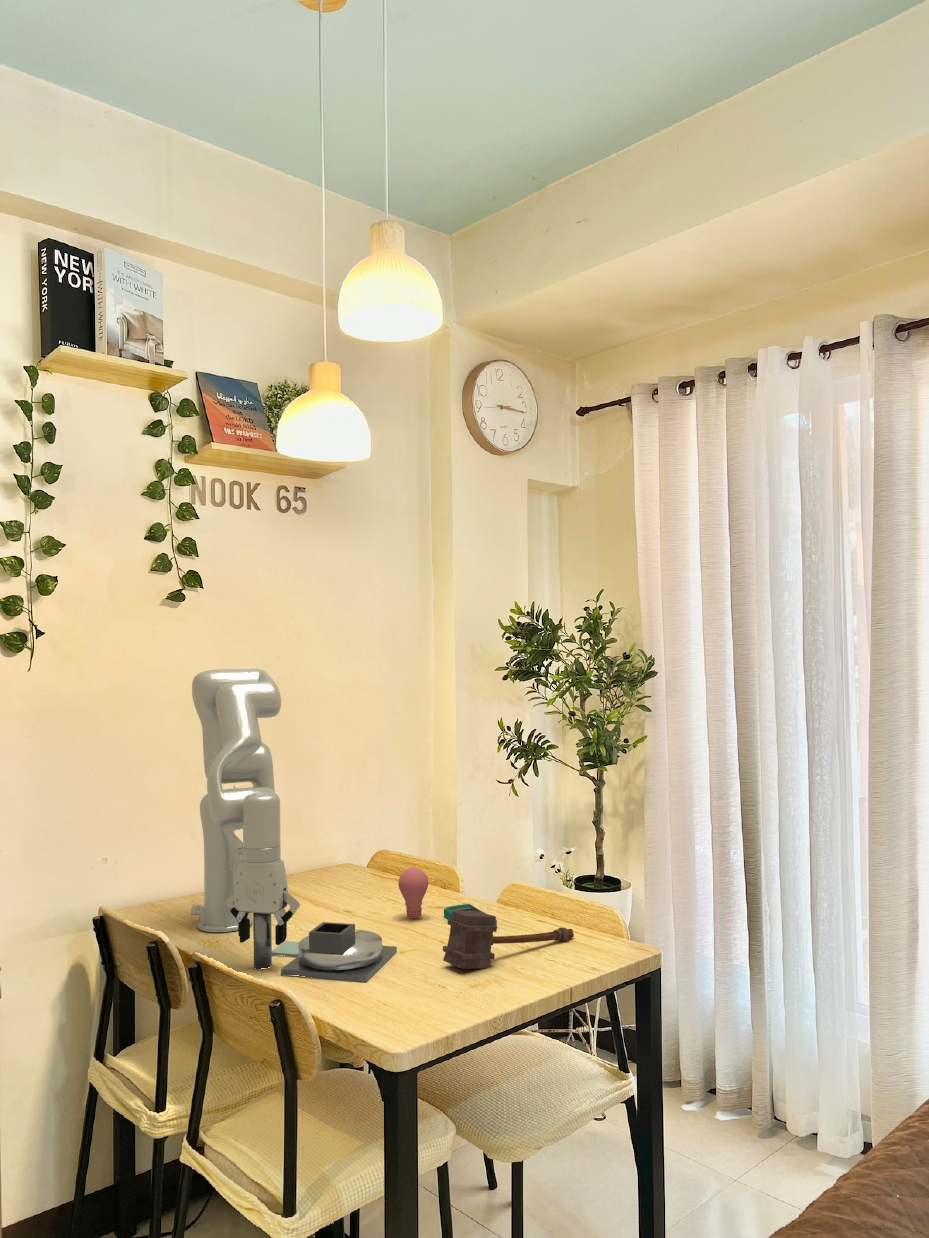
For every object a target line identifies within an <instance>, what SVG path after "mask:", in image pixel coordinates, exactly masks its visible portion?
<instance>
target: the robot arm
mask: <svg viewBox="0 0 929 1238" xmlns="http://www.w3.org/2000/svg"><path fill="white" fill-rule="evenodd" d="M191 694H192V695H191V696H192V700H193V705H194V708H195V710H196V715H197V716H198V718H199V721H200V724H201V730H202V750H203V767H204V775H205V777H206V779H207V780H206V791H207V794H204V796H203V797H202V798H201V800H200V804H199V815H200V816H199V817H200V822H201V829H202V835H203V836H202V837H203V864H204V865H203V868H204V869H203V874H204V876H203V877H204V886H203V887H204V888H203V889H204V890H203V891H204V895H203V897H204V904H203V905H202V904H201V905H200V904H193V905H191V909H190V916H197V917H198V916H199V917H200V919H199V920H198V921H197V928H198V929H199V930H200V931H203V932H207V933H229V932H235V931H238V937H239V943H245V942H246V941H248V940H249V939H250V938H251V925H253V916H252V915H250V914H252V913H264V914H271V915H273V917H274V918H275V920H276V922H277V924H276V925H275V928H274V929H275V930H274V932H275V934H274V935H275V936H274V938H275V939H274V940H275V943H274V944H275V945H276V946H280V945H281V944H282V943H284V942H285V941H286V939H287V937H288V936H287V935H288V932H287V928H288V926H287V923H288V922H289V920H290V919H291V918H292V917H294V915H295V913H296V912H297V910H299V908H300V907H301V903H300V901H298V900H297V899H296V898H295V897H293V896H292V895H291V893H289V888H288V887H289V886H288V878H287V871H286V867H285V863H284V862H285V861H284V860H283V859H282V858H281V854H282V853H281V852H282V851H281V799H280V797H279V796H278V794H277V793H276V791H275V778H274V764H273V763H274V762H273V757H272V755H273V754H272V752H271V750H270V748H269V746H268V745H267V744H266V743H264V742H262V740H263V739H262V736H261V730H260V724H259V720H258V719H261V718H263V719H266V718H267V719H269V718H274V717H276V716H278V715H279V713H280V710H281V707H282V697H281V693H280V689H279V687H278V685H277V684H276V682H275V681H274V680H273V678H272V677H271V676H270V675H269V674H268V673H267V672H266V671H265V670H263V669H260V668H240V669H235V668H234V669H232V668H230V669H229V668H227V669H223V668H222V669H210V670H205V671H202V672H199V673H197V674H196V675H195V676H193V679H192V684H191ZM239 783H251V785H252V786H251V787H241V788H237V787H235V788H227V789H223V785H224V784H239ZM238 830H239V831H240V830H242V840H241V839H240V838H239V836H238V835H236V833H235V831H238ZM288 905H289V909H288V910H287V911H286V909H285V908H286V907H288Z"/></svg>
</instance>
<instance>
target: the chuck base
mask: <svg viewBox="0 0 929 1238" xmlns="http://www.w3.org/2000/svg"><path fill="white" fill-rule="evenodd" d="M396 952H397V953H398V946H394V945H393V946H392V945H382V956H381V958H380V959H379V960H377V961H376V962H374V963H372V964H369V965H366V966H362V967H358V968H353V969H345V970H322V969H315V968H310V967H307V966H305V965H303V964H302V963H300V961H299V956H298V957H294V959H292V960H291V961H290V962H289V963H287V964H286V965H284V966H283V967H282V968H281V969H280V976H282V975H299V976H305V977H304V978H306V977H312V978H311V979H318V978H320V979H319V980H330V979H334V980H333V981H342V982H343V981H345V982H357V983H367V982H368V981H369V980H371V979H372V977H373V976H374V975H375V974H377V973H378V972H379V970H380V969H382V968H383V967H384V966H386V965H385V963H386V962H387V961H388V960H389V959H390V958H391V957H392V956H393V955H394V956H395V955H396V954H397V953H396ZM395 953H396V954H395ZM394 956H393V957H394ZM393 957H392V958H393ZM392 958H391V959H392ZM391 959H390V960H391ZM390 960H389V961H390ZM389 961H388V962H389ZM388 962H387V963H388ZM387 963H386V964H387Z"/></svg>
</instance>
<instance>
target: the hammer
mask: <svg viewBox="0 0 929 1238" xmlns="http://www.w3.org/2000/svg"><path fill="white" fill-rule="evenodd" d="M483 912H484V911H483V910H481V911H452V915H451V919H447V925H448V926H450V928H449V934H448V941H447V945H443V946H442V952H444V957H443V959H442V960H443V962H445V963H448V964H450V965H452V966H454V967H456V968H459V969H473V970H474V969H489V968H492V966H491V965H492V964H491V962H492V960H495V958H496V957H495V955H496V954H495V953H494V952H492V946H494V944H495V945H496V944H498V945H499V944H500V945H501V944H523V943H538V942H548V941H550V942H551V941H555V942H557V941H559V942H563V943H565V942H568V940H569V939H572V938H574V936H575V935H574V934H575V933H574V929H572V928H566V927H558V929H554V930H553V931H549V932H541V933H531V934H530V933H529V934H519V935H517V934H515V935H502V936H501V935H500V936H498V935H497V936H494V934H493V933H496V932H497V930H498V925H497V926H494V923H495V920H497V916H495V915H492V914H490V913H489V914H488V913H486V912H484V913H483Z"/></svg>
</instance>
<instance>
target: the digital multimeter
mask: <svg viewBox="0 0 929 1238" xmlns="http://www.w3.org/2000/svg"><path fill="white" fill-rule="evenodd" d="M452 911H482V910H480V909H479V908H477V907H475V906H474V905H472V904H471V903H463V904H456V905H450V906H446V907H445V908H444V909H443V917H444V918H445V919H447V920H448V919H451V915H452ZM482 912H483V913H485V912H484V911H482ZM494 926H497V927H498V921H497V919H496V920H495V923H494Z"/></svg>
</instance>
